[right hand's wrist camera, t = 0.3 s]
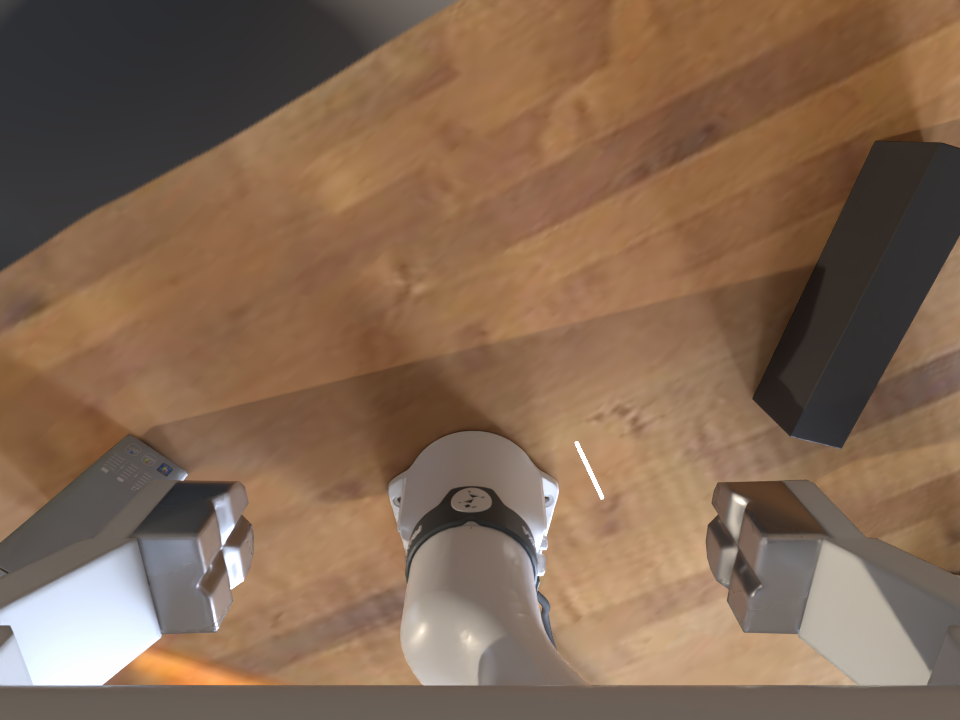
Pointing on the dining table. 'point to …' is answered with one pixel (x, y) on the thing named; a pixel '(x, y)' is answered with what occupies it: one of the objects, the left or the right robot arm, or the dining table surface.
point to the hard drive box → (87, 502)
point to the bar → (864, 290)
